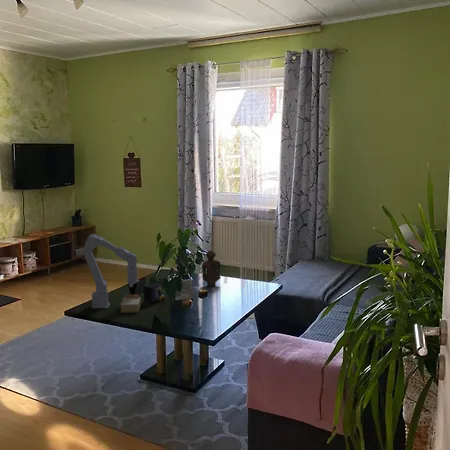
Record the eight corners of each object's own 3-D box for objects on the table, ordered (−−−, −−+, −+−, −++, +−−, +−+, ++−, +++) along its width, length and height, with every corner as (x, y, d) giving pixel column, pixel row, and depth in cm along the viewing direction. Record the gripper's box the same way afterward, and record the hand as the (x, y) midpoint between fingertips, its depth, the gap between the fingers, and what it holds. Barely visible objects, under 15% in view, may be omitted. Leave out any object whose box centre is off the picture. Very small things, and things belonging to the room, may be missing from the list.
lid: (120, 305, 280) (120, 301, 280) (124, 298, 293) (124, 294, 292) (138, 305, 280) (138, 301, 280) (140, 298, 293) (140, 294, 293)
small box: (151, 304, 296) (151, 287, 294) (143, 302, 299) (143, 285, 297) (162, 299, 305) (162, 283, 303) (154, 297, 308) (154, 281, 306)
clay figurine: (218, 283, 339) (218, 248, 335) (222, 287, 330) (222, 251, 325) (200, 284, 336) (200, 249, 331) (204, 288, 326) (204, 252, 322)
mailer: (121, 312, 281) (120, 306, 280) (124, 305, 293) (124, 298, 293) (138, 312, 281) (138, 306, 280) (141, 305, 294) (140, 298, 293)
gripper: (137, 276, 285) (137, 298, 287) (140, 270, 299) (140, 291, 301) (125, 276, 284) (126, 298, 287) (128, 270, 299) (129, 291, 301)
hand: (132, 294), depth 294 cm, fingers closed
